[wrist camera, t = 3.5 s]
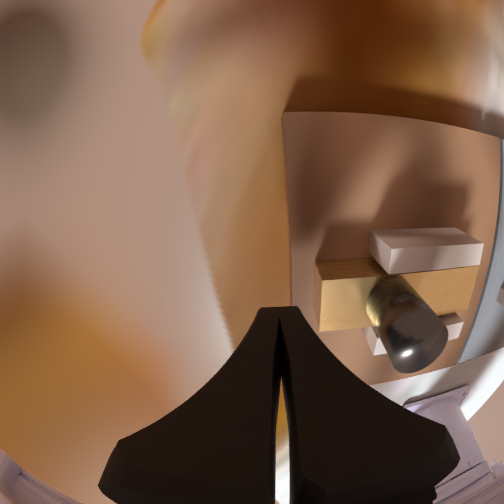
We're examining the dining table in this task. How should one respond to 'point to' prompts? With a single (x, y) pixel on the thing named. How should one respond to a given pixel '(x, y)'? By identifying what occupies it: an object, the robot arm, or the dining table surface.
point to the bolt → (392, 306)
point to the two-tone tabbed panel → (396, 220)
